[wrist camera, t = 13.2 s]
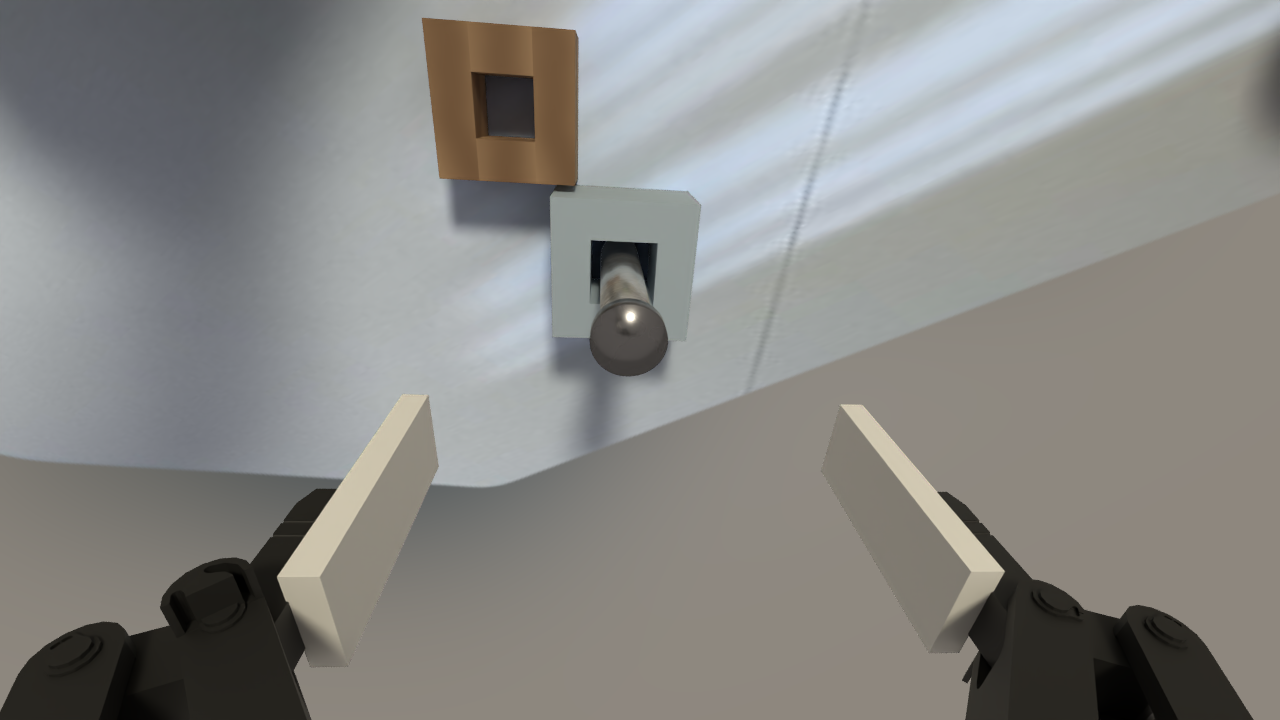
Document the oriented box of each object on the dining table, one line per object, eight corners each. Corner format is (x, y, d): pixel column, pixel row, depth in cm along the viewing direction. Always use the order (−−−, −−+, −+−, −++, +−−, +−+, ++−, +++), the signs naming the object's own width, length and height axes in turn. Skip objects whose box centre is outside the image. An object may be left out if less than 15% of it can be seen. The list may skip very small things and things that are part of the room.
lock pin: (593, 277, 42) (589, 375, 26) (595, 228, 40) (590, 303, 25) (642, 279, 42) (664, 377, 27) (645, 231, 40) (671, 306, 25)
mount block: (455, 171, 37) (439, 178, 34) (441, 27, 33) (421, 17, 30) (577, 178, 38) (574, 185, 34) (578, 38, 34) (575, 30, 30)
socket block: (559, 308, 43) (552, 337, 37) (557, 184, 38) (549, 196, 33) (676, 312, 43) (685, 341, 38) (688, 191, 39) (701, 204, 34)
